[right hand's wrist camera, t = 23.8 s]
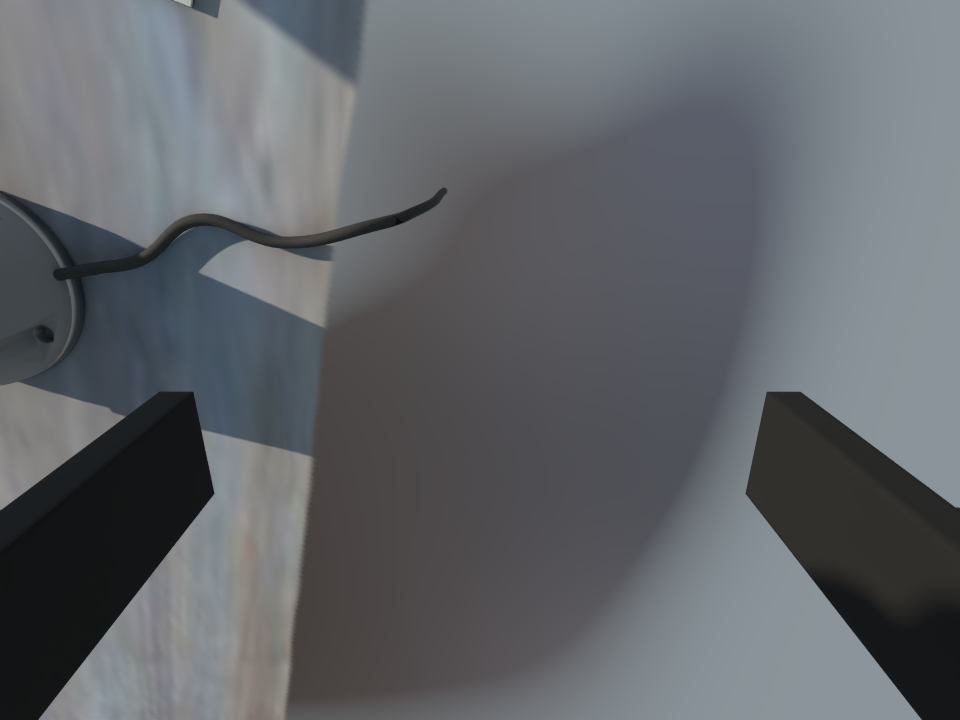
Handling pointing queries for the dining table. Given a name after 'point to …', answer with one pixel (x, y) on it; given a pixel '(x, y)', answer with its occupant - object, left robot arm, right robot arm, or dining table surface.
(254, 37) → the dining table surface
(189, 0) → the invitation card
